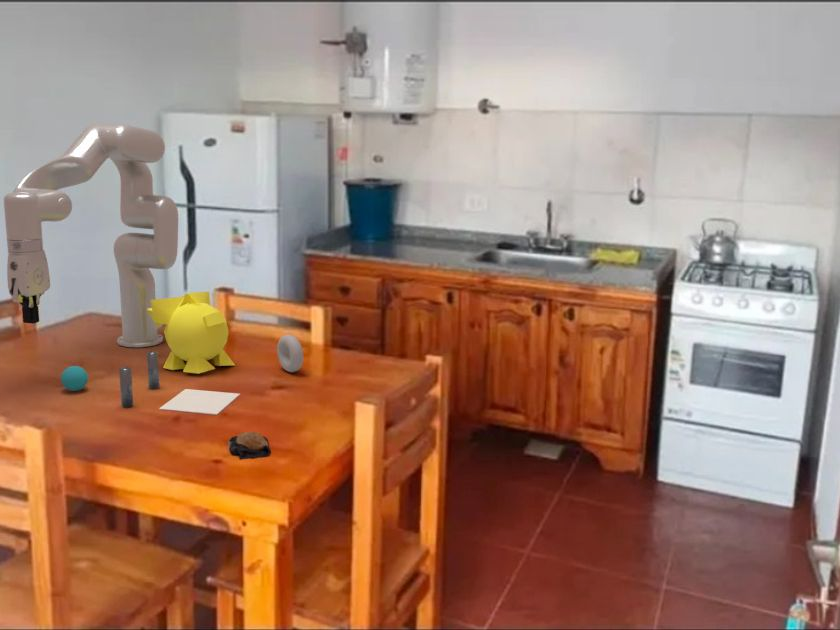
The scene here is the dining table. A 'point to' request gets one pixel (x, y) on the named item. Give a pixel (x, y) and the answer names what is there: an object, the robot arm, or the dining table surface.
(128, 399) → the post
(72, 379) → the ball
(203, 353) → the piggy bank
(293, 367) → the donut
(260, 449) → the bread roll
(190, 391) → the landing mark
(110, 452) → the dining table surface
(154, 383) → the post
